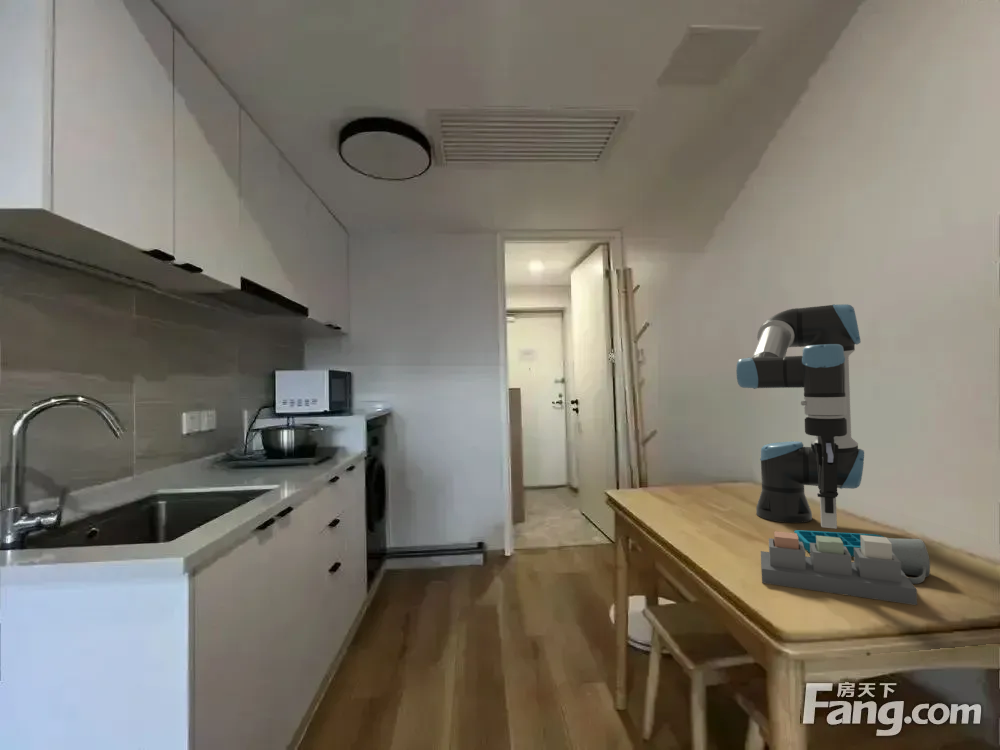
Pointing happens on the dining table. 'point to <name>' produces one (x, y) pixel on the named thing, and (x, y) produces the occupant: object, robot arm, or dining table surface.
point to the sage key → (829, 544)
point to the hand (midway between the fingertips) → (828, 526)
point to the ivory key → (876, 547)
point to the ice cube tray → (847, 538)
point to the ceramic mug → (912, 558)
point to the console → (837, 573)
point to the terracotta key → (786, 540)
